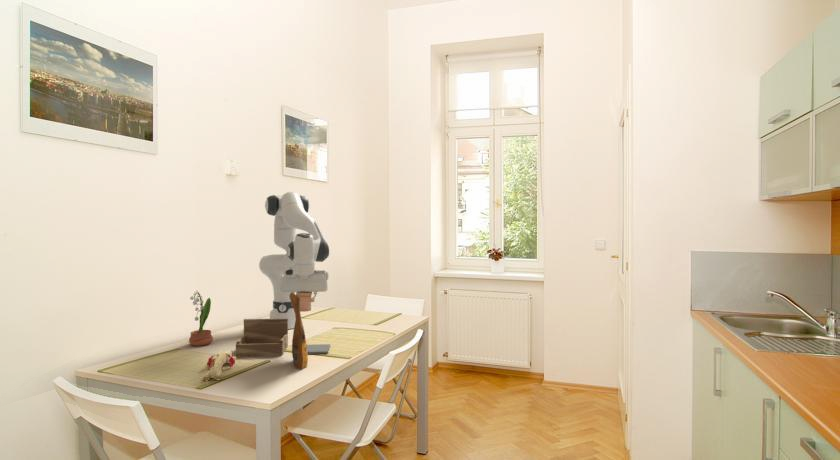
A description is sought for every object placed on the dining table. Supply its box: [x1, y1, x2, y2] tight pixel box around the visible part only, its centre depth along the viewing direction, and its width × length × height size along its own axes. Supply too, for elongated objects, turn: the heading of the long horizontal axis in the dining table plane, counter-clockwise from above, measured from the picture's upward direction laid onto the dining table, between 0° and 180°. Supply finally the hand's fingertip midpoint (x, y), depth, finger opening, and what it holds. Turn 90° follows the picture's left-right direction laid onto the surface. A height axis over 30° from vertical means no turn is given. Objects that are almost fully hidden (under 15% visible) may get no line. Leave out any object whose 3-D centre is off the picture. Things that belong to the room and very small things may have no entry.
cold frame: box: [235, 318, 289, 358], centre depth 204 cm, size 14×19×13 cm
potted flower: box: [188, 290, 214, 347], centre depth 214 cm, size 12×10×25 cm
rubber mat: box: [307, 343, 331, 355], centre depth 207 cm, size 12×11×1 cm
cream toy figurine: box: [203, 350, 237, 381], centre depth 178 cm, size 10×9×25 cm
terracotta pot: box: [295, 292, 313, 313], centre depth 205 cm, size 7×7×8 cm
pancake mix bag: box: [290, 292, 309, 370], centre depth 187 cm, size 7×19×28 cm, turn 17°
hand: (304, 302), depth 205 cm, fingers closed on terracotta pot, 6 cm apart
